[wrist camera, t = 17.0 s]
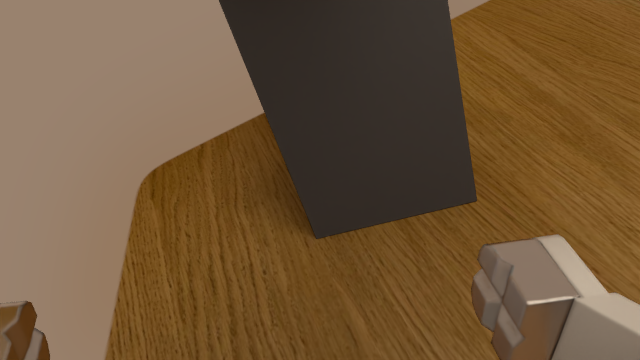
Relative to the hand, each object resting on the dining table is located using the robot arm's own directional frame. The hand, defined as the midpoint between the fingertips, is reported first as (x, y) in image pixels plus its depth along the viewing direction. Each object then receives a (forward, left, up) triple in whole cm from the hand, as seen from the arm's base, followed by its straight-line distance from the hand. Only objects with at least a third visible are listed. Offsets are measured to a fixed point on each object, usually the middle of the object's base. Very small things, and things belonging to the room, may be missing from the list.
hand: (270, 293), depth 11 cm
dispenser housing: (+2, +27, -20) cm, 33 cm away
